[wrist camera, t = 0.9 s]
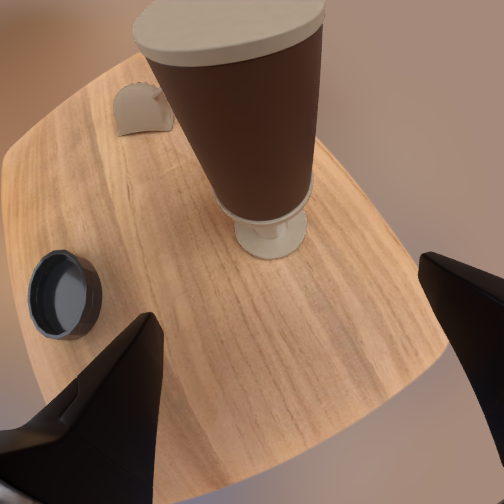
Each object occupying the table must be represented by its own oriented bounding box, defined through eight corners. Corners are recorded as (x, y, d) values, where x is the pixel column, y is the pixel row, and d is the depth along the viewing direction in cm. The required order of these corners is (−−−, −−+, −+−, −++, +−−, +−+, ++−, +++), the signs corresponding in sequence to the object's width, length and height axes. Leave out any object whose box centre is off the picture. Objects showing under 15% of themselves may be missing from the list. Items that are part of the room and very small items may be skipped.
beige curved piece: (128, 109, 30) (109, 80, 25) (193, 103, 29) (178, 68, 24) (117, 136, 29) (94, 108, 24) (184, 131, 28) (166, 97, 23)
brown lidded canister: (331, 173, 16) (362, -4, 6) (264, 243, 16) (215, 78, 5) (259, 123, 18) (230, -37, 7) (194, 182, 17) (103, 31, 7)
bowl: (117, 299, 24) (101, 295, 22) (68, 356, 23) (52, 357, 21) (76, 240, 26) (61, 232, 24) (34, 295, 25) (18, 291, 23)
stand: (321, 223, 24) (333, 173, 16) (272, 275, 23) (264, 246, 16) (268, 180, 25) (259, 121, 18) (220, 228, 25) (191, 182, 17)
